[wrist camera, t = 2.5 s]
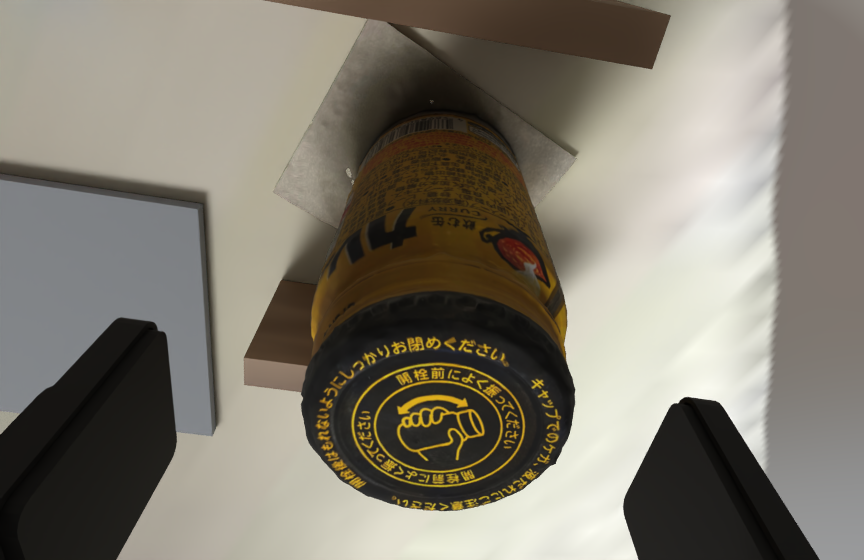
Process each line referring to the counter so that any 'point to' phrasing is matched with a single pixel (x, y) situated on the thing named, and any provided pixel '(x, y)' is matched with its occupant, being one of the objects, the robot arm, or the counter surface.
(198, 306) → the mat
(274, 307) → the brown angular block
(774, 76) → the counter surface
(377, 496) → the condiment
